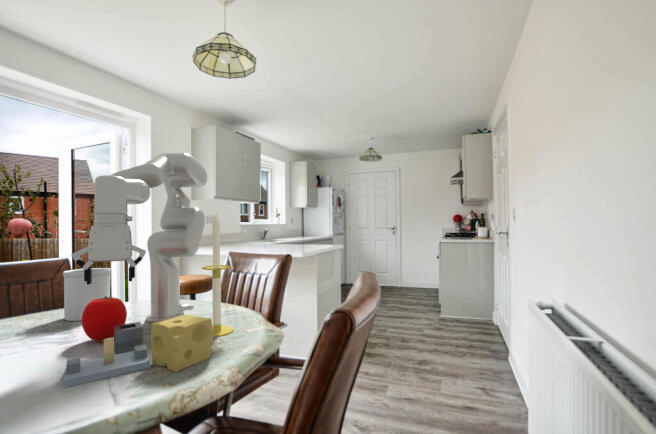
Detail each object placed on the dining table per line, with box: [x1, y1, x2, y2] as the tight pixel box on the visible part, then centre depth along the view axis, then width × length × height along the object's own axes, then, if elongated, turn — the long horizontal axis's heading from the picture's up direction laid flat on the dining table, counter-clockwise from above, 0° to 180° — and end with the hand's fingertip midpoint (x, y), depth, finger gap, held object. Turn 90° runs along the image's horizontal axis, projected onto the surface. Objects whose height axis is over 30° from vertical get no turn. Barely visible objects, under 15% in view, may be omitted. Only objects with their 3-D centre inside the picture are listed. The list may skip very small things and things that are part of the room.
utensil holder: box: [62, 267, 112, 322], centre depth 127 cm, size 15×15×18 cm
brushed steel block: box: [113, 321, 144, 355], centre depth 92 cm, size 6×6×6 cm
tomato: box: [81, 296, 128, 342], centre depth 100 cm, size 11×11×13 cm
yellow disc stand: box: [201, 214, 234, 338], centre depth 106 cm, size 10×10×38 cm
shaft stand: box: [63, 337, 151, 388], centre depth 79 cm, size 16×10×7 cm, turn 126°
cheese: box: [151, 314, 213, 373], centre depth 84 cm, size 10×11×10 cm
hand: (110, 282), depth 93 cm, fingers open, 9 cm apart
